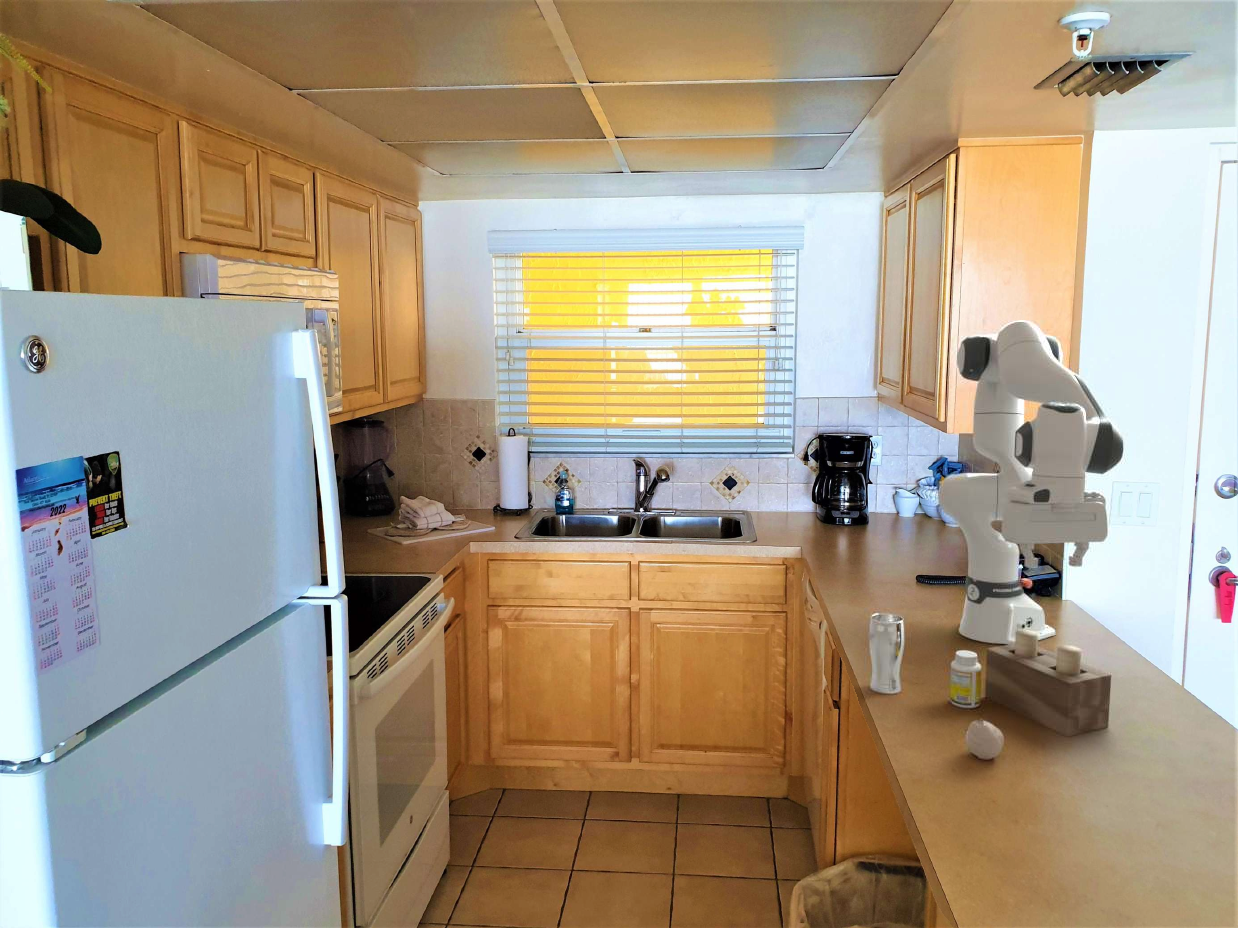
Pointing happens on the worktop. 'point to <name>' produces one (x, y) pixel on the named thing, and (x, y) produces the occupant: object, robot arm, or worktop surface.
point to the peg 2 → (1068, 660)
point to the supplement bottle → (965, 680)
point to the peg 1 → (1026, 643)
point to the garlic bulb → (984, 739)
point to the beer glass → (886, 651)
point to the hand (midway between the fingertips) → (1053, 566)
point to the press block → (1048, 690)
